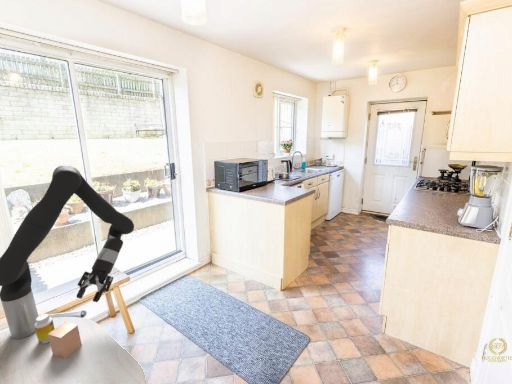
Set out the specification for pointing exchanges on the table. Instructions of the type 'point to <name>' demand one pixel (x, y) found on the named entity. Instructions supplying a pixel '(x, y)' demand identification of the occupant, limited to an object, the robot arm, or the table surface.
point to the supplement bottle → (43, 327)
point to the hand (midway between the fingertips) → (86, 299)
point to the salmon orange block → (64, 339)
